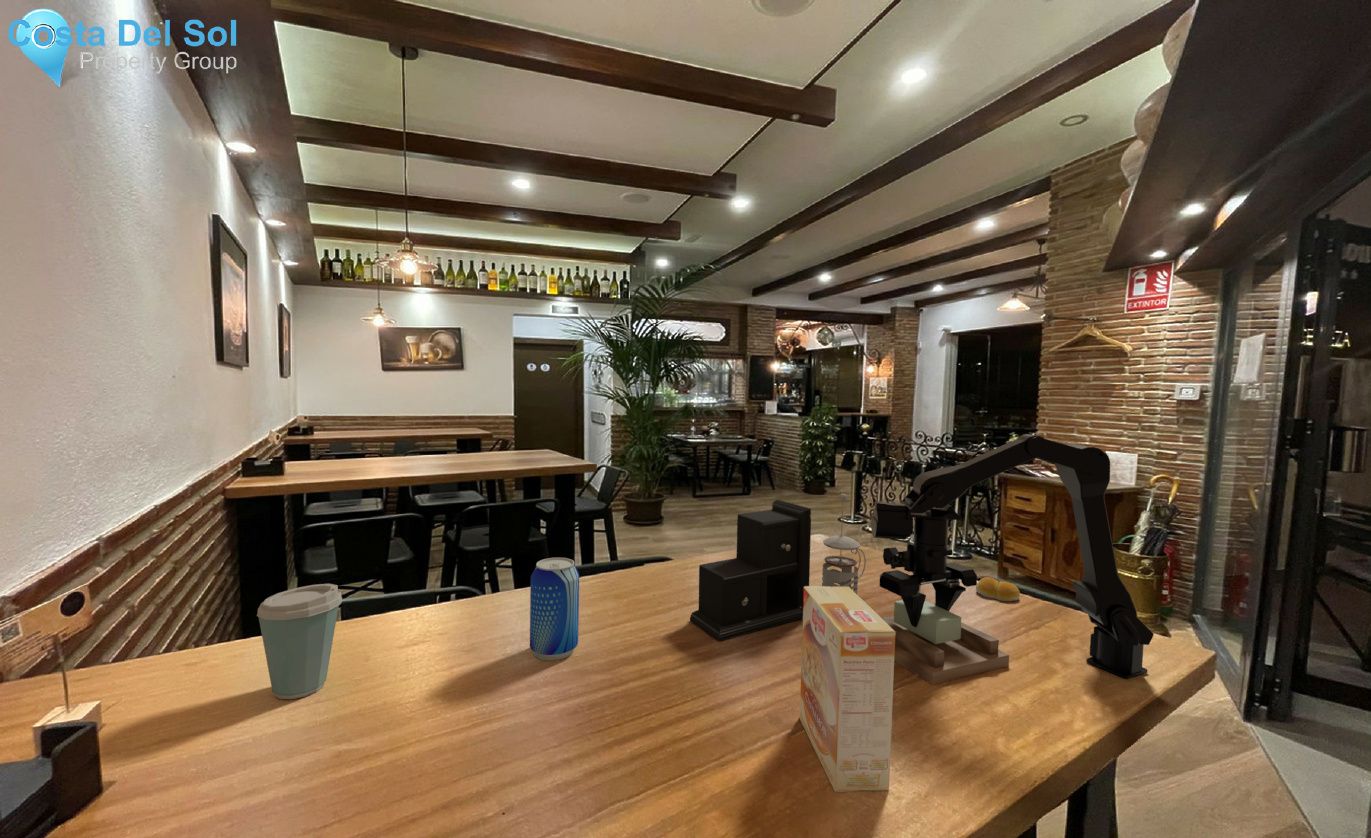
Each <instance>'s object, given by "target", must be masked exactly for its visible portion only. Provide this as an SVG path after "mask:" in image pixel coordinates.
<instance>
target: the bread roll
mask: <svg viewBox="0 0 1371 838" xmlns="http://www.w3.org/2000/svg"><path fill="white" fill-rule="evenodd" d="M975 591H976V593H977V592H978V594H979V595H980V594H981V596H982V595H983V597H985V598H988V599H996V600H997V601H1000V602H1015V601H1018V600H1019V599H1020V592H1021V591H1020V590H1019V588H1018V587H1017V586H1016V585H1015V584H1013V583H1012V582H1008V581H1003V580H1002V581H998V580H996V579H995V578H993V577H988V576H986V577H983V578H981V579H980V580H979V581H977V585H975Z"/></svg>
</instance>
